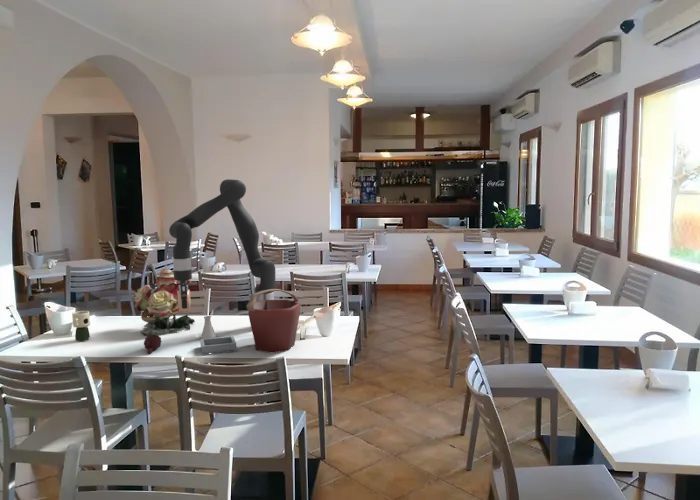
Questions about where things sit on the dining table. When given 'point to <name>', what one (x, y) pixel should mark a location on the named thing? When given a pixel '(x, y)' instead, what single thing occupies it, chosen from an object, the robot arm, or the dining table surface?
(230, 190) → the robot arm
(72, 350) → the dining table surface
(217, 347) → the slate tray
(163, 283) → the rose bouquet
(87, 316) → the character mug
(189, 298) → the terracotta cup
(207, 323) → the flask
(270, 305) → the bucket
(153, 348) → the icecream
